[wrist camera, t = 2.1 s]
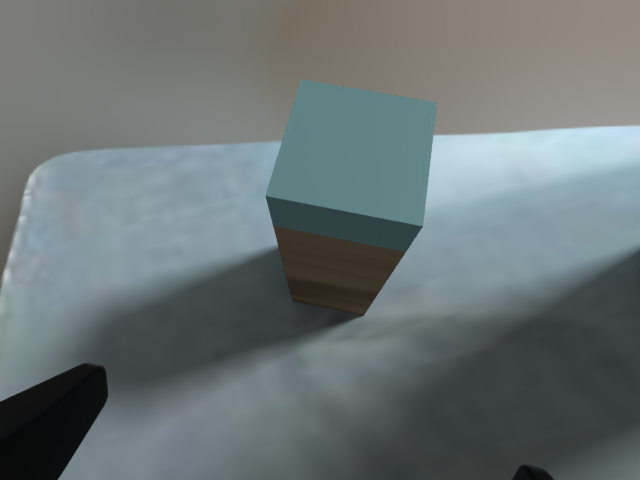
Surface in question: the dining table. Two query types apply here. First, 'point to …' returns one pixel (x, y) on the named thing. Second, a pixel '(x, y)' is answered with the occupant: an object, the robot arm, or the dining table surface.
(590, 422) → the dining table surface
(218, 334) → the dining table surface
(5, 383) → the dining table surface
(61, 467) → the robot arm
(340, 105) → the wooden block
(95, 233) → the dining table surface
